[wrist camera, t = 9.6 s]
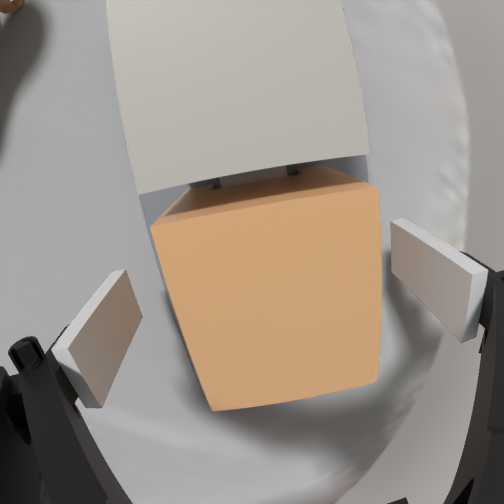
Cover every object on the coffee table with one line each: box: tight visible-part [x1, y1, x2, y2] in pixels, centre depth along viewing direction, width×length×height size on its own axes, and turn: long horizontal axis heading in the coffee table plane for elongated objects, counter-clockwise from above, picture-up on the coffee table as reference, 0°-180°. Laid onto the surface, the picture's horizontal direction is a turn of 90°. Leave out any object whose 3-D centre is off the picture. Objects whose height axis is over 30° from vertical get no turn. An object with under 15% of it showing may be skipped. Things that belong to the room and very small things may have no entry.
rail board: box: [106, 0, 371, 397], centre depth 14 cm, size 12×24×8 cm, turn 10°
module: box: [150, 165, 382, 411], centre depth 14 cm, size 7×8×7 cm
